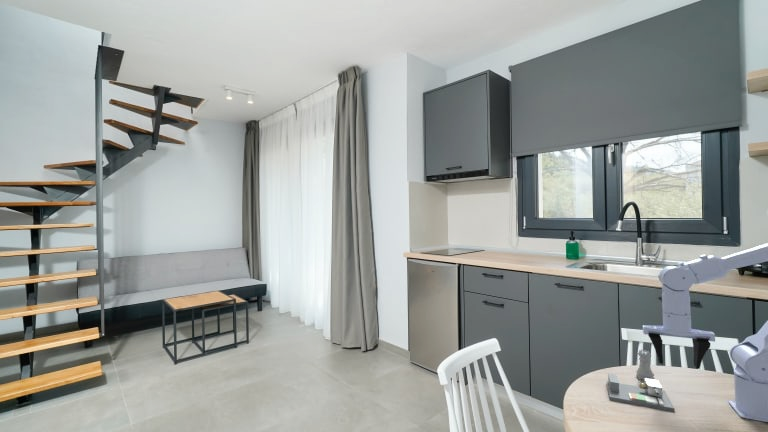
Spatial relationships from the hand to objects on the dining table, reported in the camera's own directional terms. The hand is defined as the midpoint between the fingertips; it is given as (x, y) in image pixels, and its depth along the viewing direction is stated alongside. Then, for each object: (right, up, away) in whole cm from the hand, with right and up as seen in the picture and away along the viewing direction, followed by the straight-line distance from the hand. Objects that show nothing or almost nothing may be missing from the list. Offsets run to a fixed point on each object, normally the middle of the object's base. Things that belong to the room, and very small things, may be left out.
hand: (678, 364), depth 92 cm
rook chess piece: (+1, -10, +13) cm, 16 cm away
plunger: (-6, -8, +1) cm, 10 cm away
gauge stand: (-9, -10, +2) cm, 13 cm away
